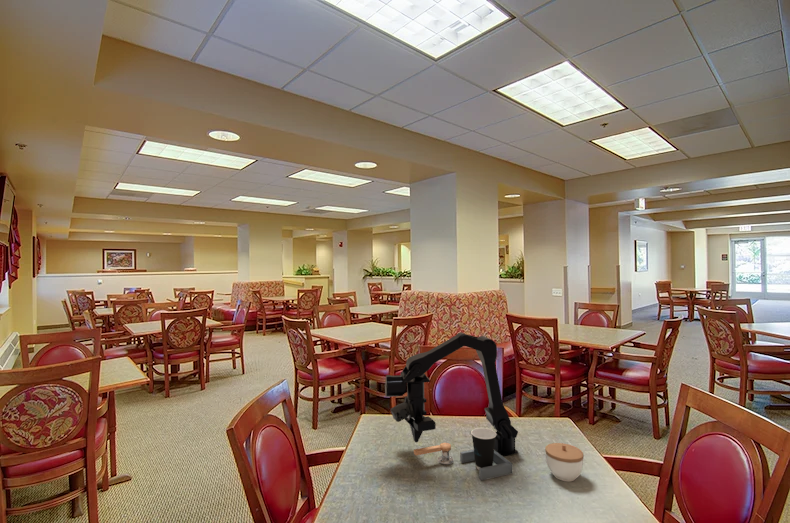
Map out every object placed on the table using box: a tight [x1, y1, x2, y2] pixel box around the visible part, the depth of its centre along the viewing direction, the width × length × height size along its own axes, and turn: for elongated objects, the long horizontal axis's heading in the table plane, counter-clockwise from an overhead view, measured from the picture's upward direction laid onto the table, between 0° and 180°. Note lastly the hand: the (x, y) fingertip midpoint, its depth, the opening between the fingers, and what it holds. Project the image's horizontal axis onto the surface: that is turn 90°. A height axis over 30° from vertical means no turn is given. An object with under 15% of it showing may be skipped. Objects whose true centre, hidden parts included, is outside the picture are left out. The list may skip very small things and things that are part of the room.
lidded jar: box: [544, 442, 584, 483], centre depth 119 cm, size 11×11×9 cm
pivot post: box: [437, 450, 454, 466], centre depth 129 cm, size 5×5×4 cm
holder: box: [459, 448, 513, 481], centre depth 125 cm, size 11×12×3 cm
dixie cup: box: [470, 427, 497, 471], centre depth 125 cm, size 8×8×11 cm
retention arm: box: [413, 442, 452, 456], centre depth 127 cm, size 13×4×1 cm, turn 110°
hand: (416, 441), depth 132 cm, fingers closed
